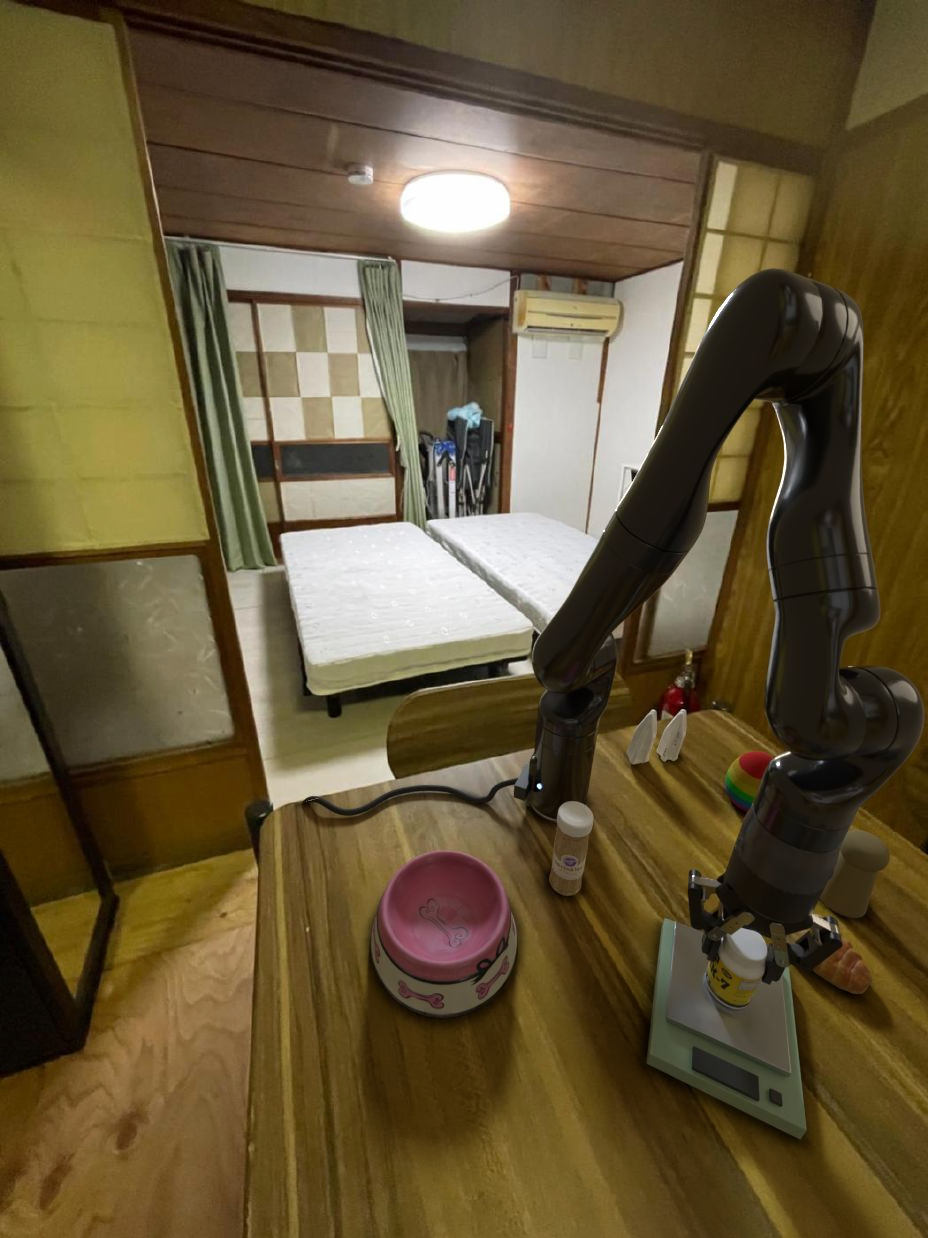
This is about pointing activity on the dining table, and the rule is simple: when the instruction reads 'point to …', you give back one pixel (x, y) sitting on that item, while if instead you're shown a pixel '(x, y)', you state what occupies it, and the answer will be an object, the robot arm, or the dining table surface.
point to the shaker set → (647, 734)
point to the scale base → (725, 1059)
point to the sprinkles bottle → (570, 847)
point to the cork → (855, 874)
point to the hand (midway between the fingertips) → (736, 963)
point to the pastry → (841, 966)
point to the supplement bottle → (737, 968)
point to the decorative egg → (746, 778)
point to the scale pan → (725, 1008)
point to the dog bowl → (444, 935)
